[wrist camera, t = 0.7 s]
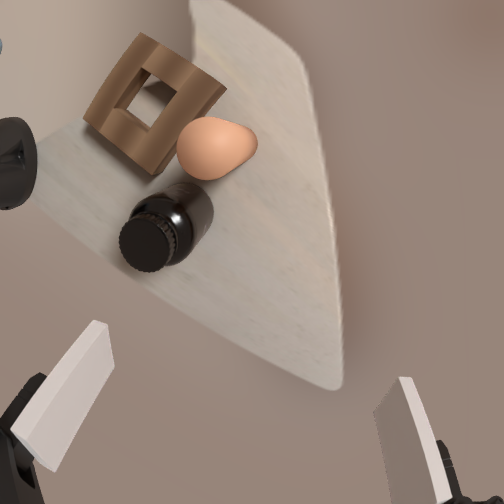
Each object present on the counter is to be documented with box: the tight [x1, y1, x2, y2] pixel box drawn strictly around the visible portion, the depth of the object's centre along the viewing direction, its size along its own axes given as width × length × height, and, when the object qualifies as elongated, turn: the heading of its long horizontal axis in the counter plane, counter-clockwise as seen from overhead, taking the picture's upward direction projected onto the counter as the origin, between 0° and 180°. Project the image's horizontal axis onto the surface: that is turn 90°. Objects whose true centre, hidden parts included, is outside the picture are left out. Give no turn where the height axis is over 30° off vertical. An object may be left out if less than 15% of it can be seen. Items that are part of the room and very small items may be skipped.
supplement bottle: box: [119, 183, 214, 273], centre depth 28 cm, size 7×7×12 cm
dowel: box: [176, 117, 258, 180], centre depth 23 cm, size 4×4×14 cm
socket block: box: [83, 33, 227, 175], centre depth 27 cm, size 12×12×3 cm
